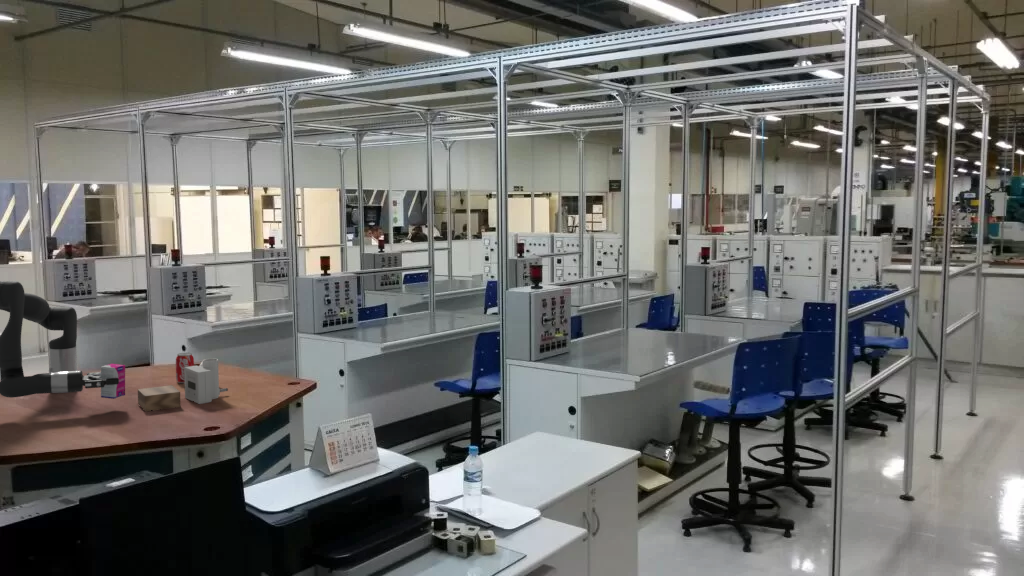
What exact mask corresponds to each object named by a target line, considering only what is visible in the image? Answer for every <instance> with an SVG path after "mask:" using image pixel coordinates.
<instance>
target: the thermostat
mask: <svg viewBox="0 0 1024 576" xmlns="http://www.w3.org/2000/svg"><path fill="white" fill-rule="evenodd" d="M202 361H203V366H202V367H200V365H194V366H189V367H184V372H185V383H184V399H187V400H189V401H191V402H193V401H194V403H196V404H199V405H201V404H207V403H211V402H212V400H216V399H218V397H220V395H221V393H224V392H228V391H229V388H227V387H226V388H220V386H219V385H220V383H219V381H220V379H219V377H220V376H219V375H220V372H219V359H218V358H205V359H202Z"/></svg>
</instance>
